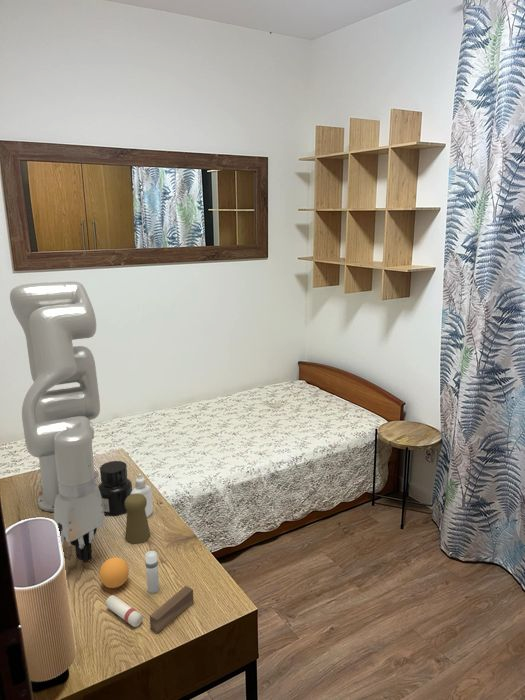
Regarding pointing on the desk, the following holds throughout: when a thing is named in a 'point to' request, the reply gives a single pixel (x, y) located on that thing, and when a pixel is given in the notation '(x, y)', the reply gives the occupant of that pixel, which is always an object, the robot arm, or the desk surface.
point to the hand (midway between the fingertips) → (84, 558)
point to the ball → (114, 572)
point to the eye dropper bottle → (144, 493)
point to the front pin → (124, 611)
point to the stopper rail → (171, 609)
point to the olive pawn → (136, 519)
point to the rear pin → (152, 571)
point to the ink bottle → (114, 487)
